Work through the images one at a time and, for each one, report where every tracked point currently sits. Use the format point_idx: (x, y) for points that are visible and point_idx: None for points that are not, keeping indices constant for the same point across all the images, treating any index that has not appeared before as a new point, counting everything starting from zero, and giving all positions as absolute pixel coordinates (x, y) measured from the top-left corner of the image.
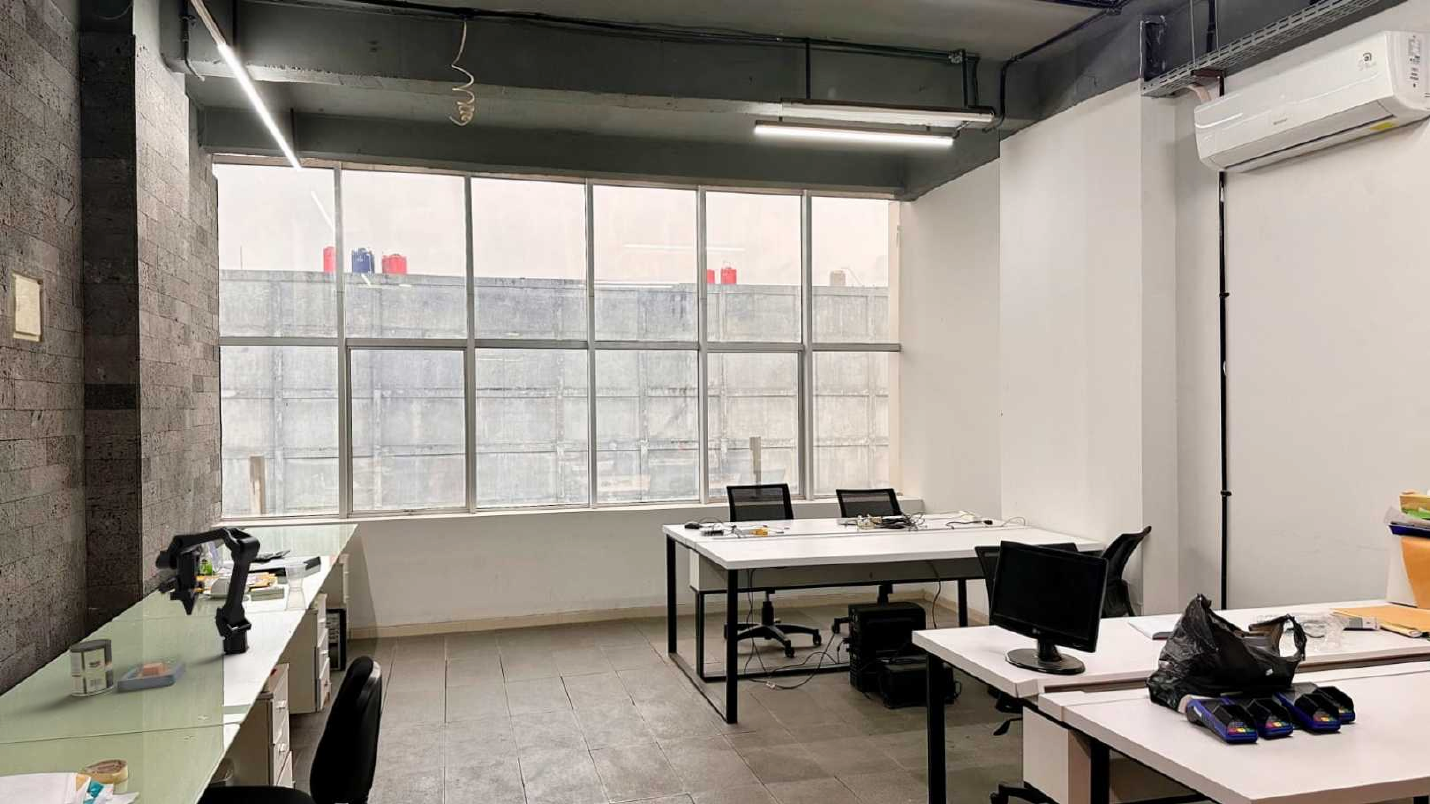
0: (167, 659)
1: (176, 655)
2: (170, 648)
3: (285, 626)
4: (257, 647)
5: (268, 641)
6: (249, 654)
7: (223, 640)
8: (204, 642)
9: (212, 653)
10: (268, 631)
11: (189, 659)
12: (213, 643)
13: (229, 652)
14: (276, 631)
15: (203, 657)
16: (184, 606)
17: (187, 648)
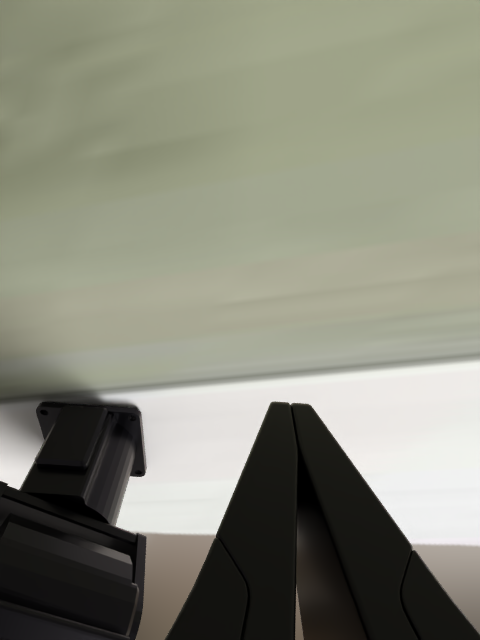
0: (50, 85)
1: (153, 137)
2: (456, 19)
3: (461, 542)
4: (134, 490)
5: (220, 512)
6: (23, 476)
7: (35, 459)
8: (442, 270)
9: (105, 349)
10: (421, 505)
11: (4, 251)
12: (362, 325)
13: (49, 424)
14: None
15: (30, 319)
16: (212, 553)
17: (339, 182)
